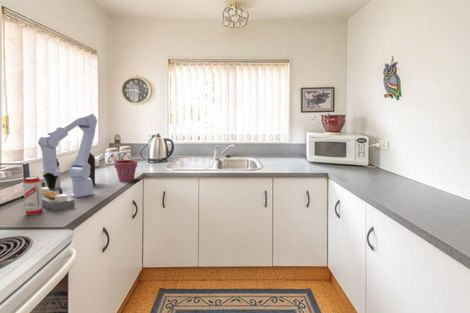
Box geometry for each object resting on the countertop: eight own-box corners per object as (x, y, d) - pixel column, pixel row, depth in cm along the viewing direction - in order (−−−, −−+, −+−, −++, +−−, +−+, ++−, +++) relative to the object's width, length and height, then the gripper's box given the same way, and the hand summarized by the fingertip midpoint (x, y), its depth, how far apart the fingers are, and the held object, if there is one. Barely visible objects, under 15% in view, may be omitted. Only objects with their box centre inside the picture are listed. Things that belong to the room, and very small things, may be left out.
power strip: (51, 197, 158) (51, 190, 157) (74, 207, 142) (74, 199, 141) (32, 200, 151) (31, 194, 150) (53, 211, 135) (53, 204, 134)
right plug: (64, 199, 142) (63, 186, 141) (67, 200, 140) (66, 188, 139) (54, 200, 139) (54, 188, 138) (58, 202, 137) (57, 189, 136)
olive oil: (100, 183, 190) (98, 144, 186) (86, 187, 180) (84, 145, 176) (87, 182, 193) (85, 143, 190) (73, 185, 183) (70, 144, 180)
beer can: (32, 211, 135) (29, 176, 133) (46, 211, 135) (43, 176, 133) (22, 215, 129) (19, 179, 127) (36, 216, 129) (33, 179, 126)
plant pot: (130, 183, 192) (130, 163, 191) (110, 182, 195) (109, 162, 193) (141, 178, 206) (141, 160, 205) (122, 177, 209) (121, 159, 207)
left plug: (46, 191, 154) (46, 180, 154) (49, 193, 152) (49, 181, 151) (38, 193, 151) (37, 181, 150) (40, 194, 149) (40, 183, 148)
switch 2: (58, 196, 146) (57, 194, 146) (60, 196, 144) (59, 194, 144) (50, 198, 143) (49, 195, 143) (52, 198, 141) (51, 195, 141)
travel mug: (55, 189, 173) (53, 158, 171) (41, 189, 173) (39, 158, 171) (63, 186, 181) (61, 156, 178) (50, 186, 181) (48, 156, 179)
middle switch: (55, 195, 148) (54, 192, 148) (57, 195, 146) (56, 192, 146) (47, 196, 145) (46, 194, 145) (48, 196, 143) (48, 194, 143)
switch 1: (52, 194, 150) (51, 191, 150) (54, 193, 148) (53, 191, 148) (44, 195, 147) (43, 193, 147) (46, 195, 146) (45, 192, 146)
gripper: (34, 159, 145) (36, 187, 146) (46, 163, 136) (48, 192, 138) (50, 158, 150) (52, 185, 152) (63, 161, 141) (65, 189, 143)
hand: (51, 188), depth 145 cm, fingers closed
